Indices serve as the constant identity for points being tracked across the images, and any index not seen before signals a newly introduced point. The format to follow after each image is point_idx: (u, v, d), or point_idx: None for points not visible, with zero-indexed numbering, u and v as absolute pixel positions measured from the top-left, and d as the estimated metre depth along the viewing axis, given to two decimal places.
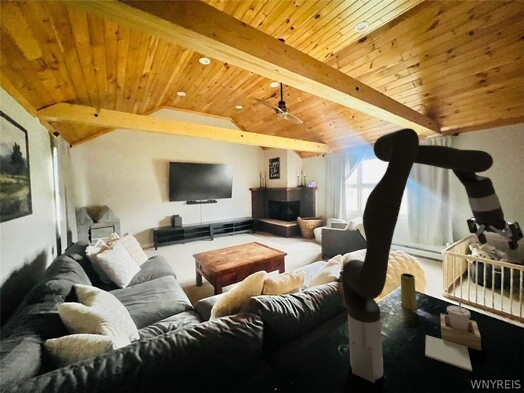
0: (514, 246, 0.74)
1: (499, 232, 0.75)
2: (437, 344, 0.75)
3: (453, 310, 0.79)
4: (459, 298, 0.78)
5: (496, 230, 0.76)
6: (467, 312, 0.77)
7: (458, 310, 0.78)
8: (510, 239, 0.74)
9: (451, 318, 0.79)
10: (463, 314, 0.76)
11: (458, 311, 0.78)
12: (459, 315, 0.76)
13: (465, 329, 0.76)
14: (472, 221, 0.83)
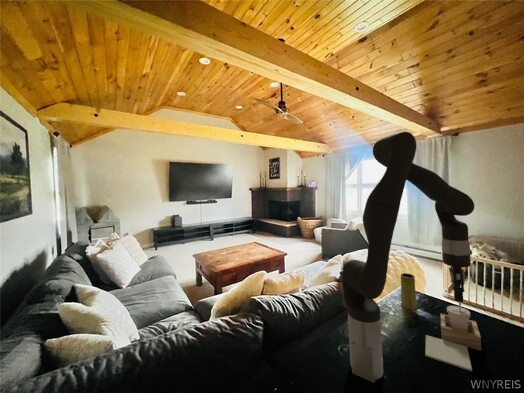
0: (456, 296, 0.75)
1: (451, 278, 0.77)
2: (437, 344, 0.75)
3: (453, 310, 0.79)
4: None
5: (450, 275, 0.77)
6: (467, 312, 0.77)
7: (458, 310, 0.78)
8: (453, 288, 0.75)
9: (451, 318, 0.79)
10: (463, 314, 0.76)
11: (458, 311, 0.78)
12: (459, 315, 0.76)
13: (465, 329, 0.76)
14: None
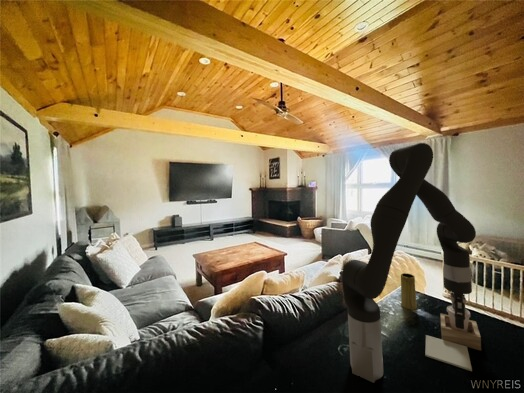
0: (457, 323, 0.76)
1: (452, 304, 0.78)
2: (437, 344, 0.75)
3: (453, 310, 0.79)
4: None
5: (451, 301, 0.78)
6: (467, 312, 0.77)
7: None
8: (454, 314, 0.76)
9: (451, 318, 0.79)
10: None
11: None
12: None
13: (465, 329, 0.76)
14: None
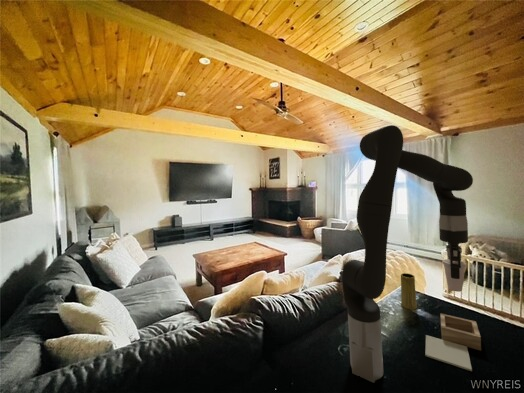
0: (452, 273, 0.74)
1: (447, 255, 0.76)
2: (437, 344, 0.75)
3: (449, 262, 0.77)
4: None
5: (447, 253, 0.76)
6: (463, 263, 0.76)
7: (454, 262, 0.77)
8: (450, 264, 0.75)
9: (447, 270, 0.77)
10: None
11: (454, 262, 0.76)
12: None
13: (461, 280, 0.75)
14: None
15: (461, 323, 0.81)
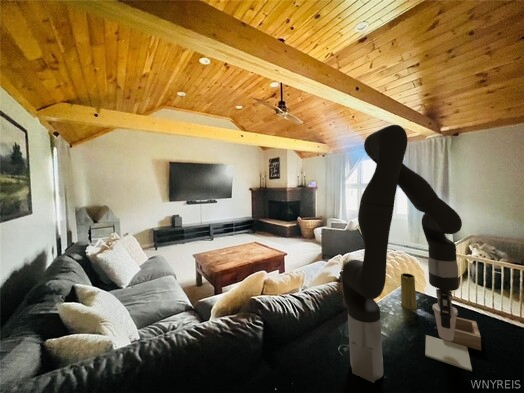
0: (443, 322, 0.69)
1: None
2: (437, 344, 0.75)
3: (439, 308, 0.72)
4: None
5: None
6: (454, 310, 0.70)
7: None
8: None
9: (437, 317, 0.72)
10: None
11: None
12: None
13: (452, 329, 0.70)
14: None
15: (461, 323, 0.81)
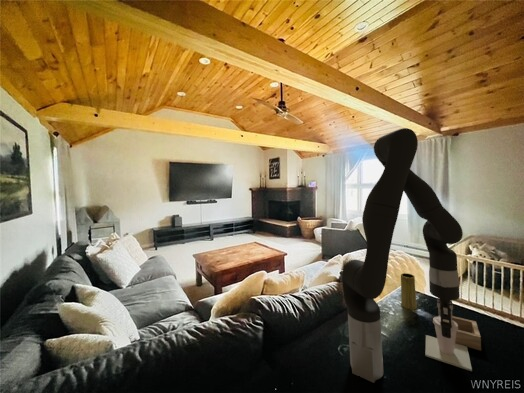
0: (443, 332, 0.68)
1: (438, 311, 0.71)
2: (437, 344, 0.75)
3: (439, 322, 0.72)
4: None
5: (438, 308, 0.71)
6: (454, 324, 0.70)
7: None
8: (440, 322, 0.69)
9: (437, 330, 0.72)
10: None
11: None
12: None
13: (452, 343, 0.70)
14: None
15: (461, 323, 0.81)
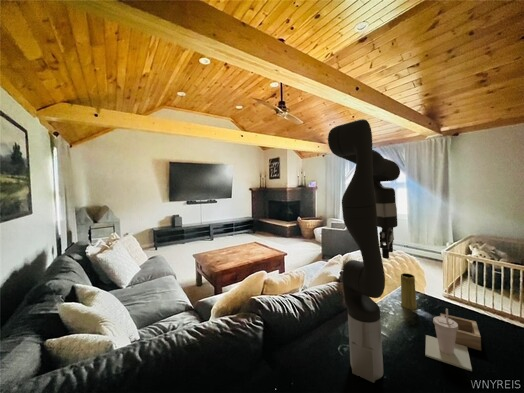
0: (383, 254, 0.83)
1: None
2: (437, 344, 0.75)
3: (440, 322, 0.72)
4: (446, 309, 0.72)
5: None
6: (455, 324, 0.70)
7: (445, 322, 0.71)
8: None
9: (437, 330, 0.72)
10: (450, 326, 0.69)
11: (445, 323, 0.71)
12: (446, 328, 0.69)
13: (452, 343, 0.70)
14: None
15: (461, 323, 0.81)
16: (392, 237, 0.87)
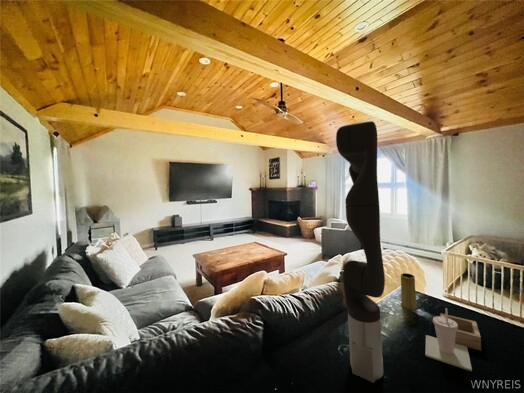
0: (361, 245, 0.90)
1: None
2: (437, 344, 0.75)
3: (439, 321, 0.72)
4: (446, 308, 0.72)
5: None
6: (454, 324, 0.70)
7: (445, 321, 0.72)
8: None
9: (437, 330, 0.72)
10: (450, 326, 0.70)
11: (445, 323, 0.71)
12: (446, 327, 0.70)
13: (452, 343, 0.70)
14: None
15: (461, 323, 0.81)
16: None
